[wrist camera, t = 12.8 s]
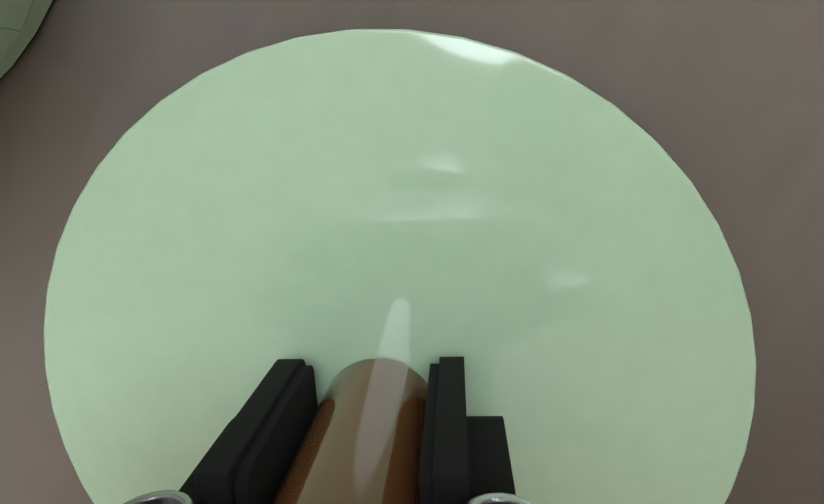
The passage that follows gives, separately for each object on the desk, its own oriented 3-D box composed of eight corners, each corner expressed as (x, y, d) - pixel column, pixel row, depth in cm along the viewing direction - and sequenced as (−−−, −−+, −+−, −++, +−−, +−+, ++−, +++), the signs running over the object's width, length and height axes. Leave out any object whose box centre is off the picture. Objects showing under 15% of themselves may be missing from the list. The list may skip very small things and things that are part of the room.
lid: (767, 8, 10) (1198, -141, 4) (699, 649, 14) (873, 1032, 8) (10, 62, 12) (-449, 6, 6) (140, 626, 16) (-52, 936, 10)
